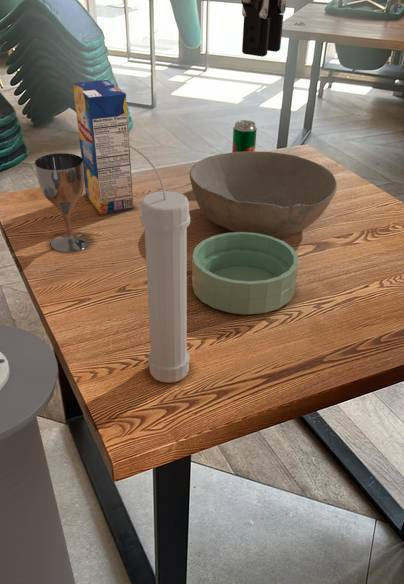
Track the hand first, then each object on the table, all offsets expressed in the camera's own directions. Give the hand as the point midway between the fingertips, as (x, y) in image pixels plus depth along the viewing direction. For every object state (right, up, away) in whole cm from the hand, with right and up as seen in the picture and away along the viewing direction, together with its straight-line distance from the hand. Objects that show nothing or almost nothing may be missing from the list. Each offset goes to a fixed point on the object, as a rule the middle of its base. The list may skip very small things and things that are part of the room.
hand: (261, 50), depth 71 cm
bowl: (+4, -11, +42) cm, 44 cm away
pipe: (-12, -40, +6) cm, 42 cm away
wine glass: (-32, -17, +34) cm, 50 cm away
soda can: (+2, +3, +60) cm, 60 cm away
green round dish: (-1, -27, +23) cm, 35 cm away
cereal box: (-27, -5, +49) cm, 56 cm away
